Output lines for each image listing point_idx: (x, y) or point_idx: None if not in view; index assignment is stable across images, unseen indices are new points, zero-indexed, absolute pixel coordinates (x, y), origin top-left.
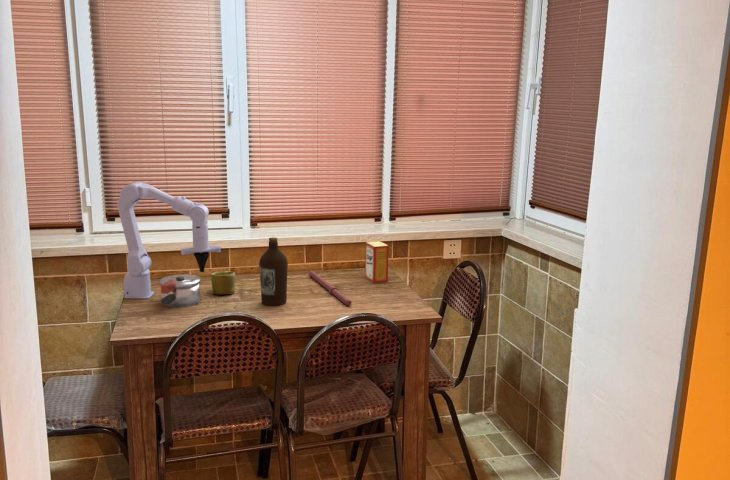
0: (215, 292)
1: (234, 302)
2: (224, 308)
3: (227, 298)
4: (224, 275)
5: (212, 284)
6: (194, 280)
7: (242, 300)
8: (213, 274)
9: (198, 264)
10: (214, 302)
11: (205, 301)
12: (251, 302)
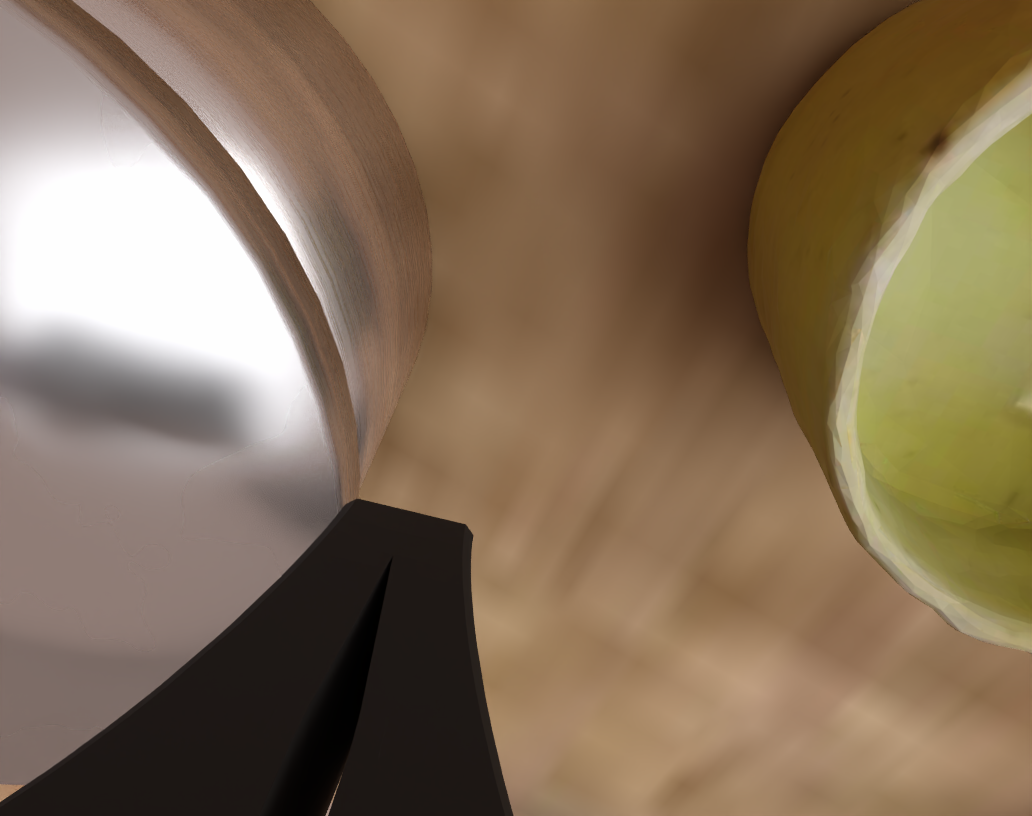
0: (752, 288)
1: (783, 672)
2: (565, 757)
3: (809, 502)
4: (1011, 645)
5: (766, 251)
6: (162, 667)
7: (920, 667)
8: (980, 150)
9: (224, 661)
10: (559, 545)
11: (465, 447)
12: (953, 768)
